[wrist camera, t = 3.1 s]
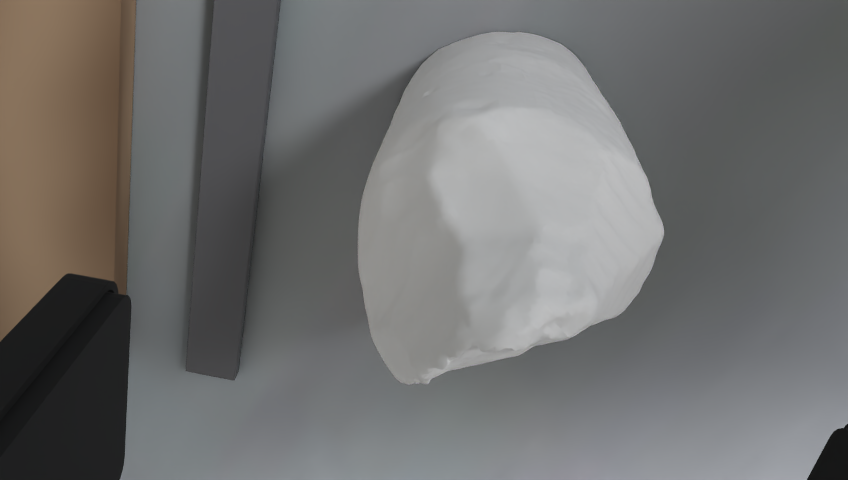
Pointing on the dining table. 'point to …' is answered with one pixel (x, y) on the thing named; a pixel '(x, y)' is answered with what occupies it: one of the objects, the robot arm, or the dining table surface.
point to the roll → (500, 209)
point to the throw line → (230, 180)
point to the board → (63, 145)
